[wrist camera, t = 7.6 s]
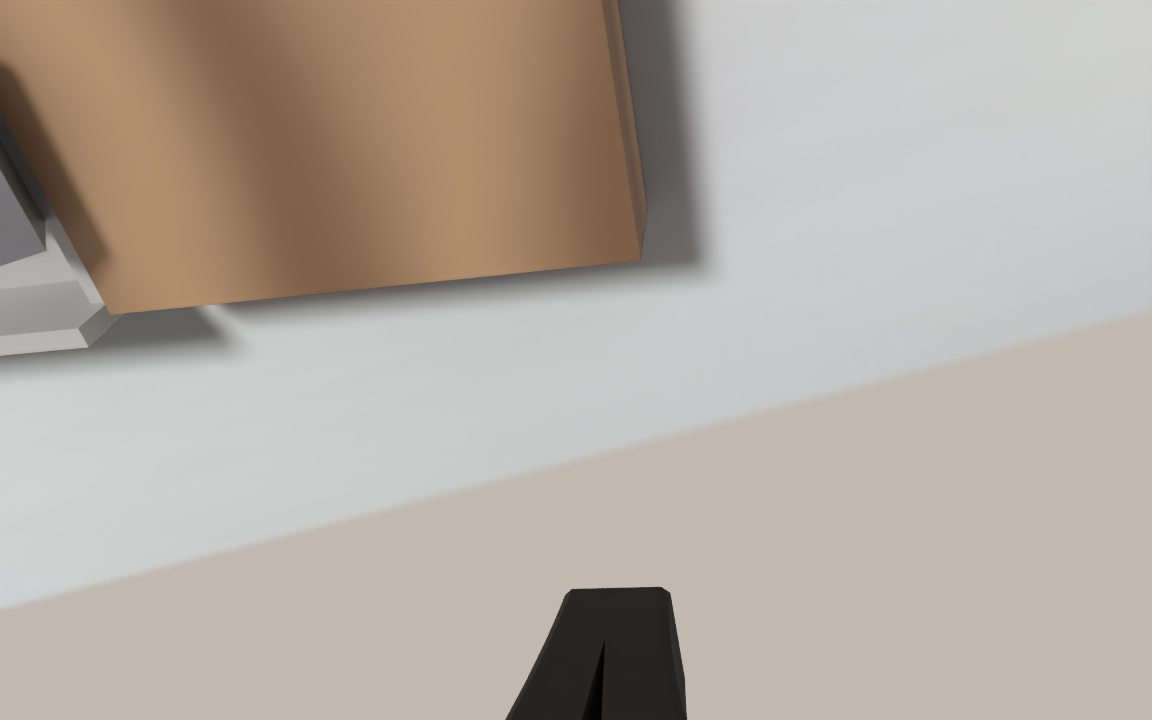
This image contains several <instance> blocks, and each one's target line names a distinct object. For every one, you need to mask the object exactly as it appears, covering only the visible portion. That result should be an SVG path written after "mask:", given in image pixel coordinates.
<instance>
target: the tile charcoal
mask: <svg viewBox="0 0 1152 720" xmlns="http://www.w3.org/2000/svg"><path fill="white" fill-rule="evenodd" d="M44 251H46V234H45V220H44V218H43V216H42V215H41V213H40V211H39V209H38V207H37V206H36V204H35V202H34V200H33V198H32V197H31V195H30V193H29V191H28V189H27V188H26V186H25V184H24V182H23V180H22V179H21V177H20V175H19V173H18V171H17V170H16V168H15V166H14V164H13V162H12V161H11V159H10V157H9V155H8V153H7V151H6V150H5V148H4V146H3V144H2V142H1V141H0V266H2V265H5V264H8V263H11V262H14V261H17V260H20V259H23V258H26V257H29V256H32V255H35V254H38V253H41V252H44Z"/></svg>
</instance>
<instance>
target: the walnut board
mask: <svg viewBox="0 0 1152 720" xmlns="http://www.w3.org/2000/svg"><path fill="white" fill-rule="evenodd" d="M0 113H1V114H2V116H3V118H4V120H5V122H6V124H7V125H8V127H9V129H10V131H11V133H12V135H13V136H14V138H15V140H16V142H17V144H18V146H19V148H20V149H21V151H22V153H23V155H24V157H25V159H26V160H27V162H28V164H29V166H30V168H31V170H32V171H33V173H34V175H35V177H36V179H37V181H38V182H39V184H40V186H41V188H42V190H43V192H44V193H45V195H46V197H47V199H48V201H49V203H50V204H51V206H52V208H53V210H54V212H55V214H56V216H57V217H58V219H59V221H60V223H61V225H62V227H63V228H64V230H65V232H66V234H67V236H68V238H69V239H70V241H71V243H72V245H73V247H74V249H75V250H76V252H77V254H78V256H79V258H80V260H81V261H82V263H83V265H84V267H85V269H86V271H87V272H88V274H89V276H90V278H91V280H92V282H93V283H94V285H95V287H96V289H97V291H98V293H99V295H100V296H101V298H102V300H103V302H104V304H105V306H106V307H107V309H108V311H109V313H110V315H114V314H123V313H133V312H143V311H153V310H163V309H172V308H182V307H192V306H202V305H212V304H221V303H231V302H241V301H251V300H260V299H270V298H280V297H290V296H300V295H309V294H319V293H329V292H339V291H348V290H358V289H368V288H378V287H388V286H397V285H407V284H417V283H427V282H437V281H446V280H456V279H466V278H476V277H485V276H495V275H505V274H515V273H525V272H534V271H544V270H554V269H564V268H574V267H583V266H593V265H603V264H613V263H622V262H632V261H640V260H641V253H642V245H643V238H644V230H645V223H646V215H647V203H646V195H645V188H644V181H643V174H642V167H641V160H640V153H639V146H638V139H637V132H636V124H635V117H634V110H633V103H632V96H631V89H630V82H629V75H628V68H627V61H626V53H625V46H624V39H623V32H622V25H621V18H620V11H619V4H618V0H0Z"/></svg>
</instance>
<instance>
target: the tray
mask: <svg viewBox="0 0 1152 720" xmlns="http://www.w3.org/2000/svg"><path fill="white" fill-rule="evenodd" d="M0 141H1V142H2V144H3V146H4V148H5V150H6V151H7V153H8V155H9V157H10V159H11V161H12V162H13V164H14V166H15V168H16V170H17V171H18V173H19V175H20V177H21V179H22V180H23V182H24V184H25V186H26V188H27V189H28V191H29V193H30V195H31V197H32V198H33V200H34V202H35V204H36V206H37V207H38V209H39V211H40V213H41V215H42V216H43V218H44V220H45V234H46V251H44V252H41V253H38V254H35V255H32V256H29V257H26V258H23V259H20V260H17V261H14V262H11V263H8V264H5V265H2V266H0V356H2V355H12V354H23V353H34V352H44V351H55V350H65V349H76V348H87V347H90V346H91V345H92V344H93V343H94V342H95V341H96V340H97V339H98V338H100V337H101V336H102V335H103V334H104V333H105V332H106V331H107V330H108V329H109V328H111V327H112V326H113V325H114V324H115V323H116V322H117V321H118V320H119V319H120V318H121V317H123V316H124V315H125V314H126V313H123V314H114V315H110V313H109V311H108V309H107V307H106V306H105V304H104V302H103V300H102V298H101V296H100V295H99V293H98V291H97V289H96V287H95V285H94V283H93V282H92V280H91V278H90V276H89V274H88V272H87V271H86V269H85V267H84V265H83V263H82V261H81V260H80V258H79V256H78V254H77V252H76V250H75V249H74V247H73V245H72V243H71V241H70V239H69V238H68V236H67V234H66V232H65V230H64V228H63V227H62V225H61V223H60V221H59V219H58V217H57V216H56V214H55V212H54V210H53V208H52V206H51V204H50V203H49V201H48V199H47V197H46V195H45V193H44V192H43V190H42V188H41V186H40V184H39V182H38V181H37V179H36V177H35V175H34V173H33V171H32V170H31V168H30V166H29V164H28V162H27V160H26V159H25V157H24V155H23V153H22V151H21V149H20V148H19V146H18V144H17V142H16V140H15V138H14V136H13V135H12V133H11V131H10V129H9V127H8V125H7V124H6V122H5V120H4V118H3V116H2V114H1V113H0Z"/></svg>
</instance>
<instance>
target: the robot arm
mask: <svg viewBox="0 0 1152 720" xmlns="http://www.w3.org/2000/svg"><path fill="white" fill-rule="evenodd" d="M506 720H687V714H686V696H685V678H684V671H683V665H682V660H681V653H680V648H679V641H678V636H677V630H676V624H675V618H674V613H673V606H672V600H671V594H670V592H668V591H667V590H665V589H663V588H662V587H638V588H601V589H600V588H598V589H571V590H570V592H568V593H567V594H566V595H565V597H564V599H563V602H562V604H561V607H560V609H559V612H558V614H557V616H556V619H555V621H554V623H553V626H552V628H551V630H550V632H549V635H548V637H547V639H546V641H545V644H544V646H543V647H542V650H541V652H540V654H539V656H538V658H537V660H536V662H535V664H534V666H533V668H532V670H531V672H530V674H529V676H528V678H527V680H526V682H525V684H524V686H523V688H522V690H521V692H520V694H519V695H518V697H517V699H516V701H515V703H514V705H513V706H512V709H511V710H510V712H509V714H508V716H507V718H506Z"/></svg>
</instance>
